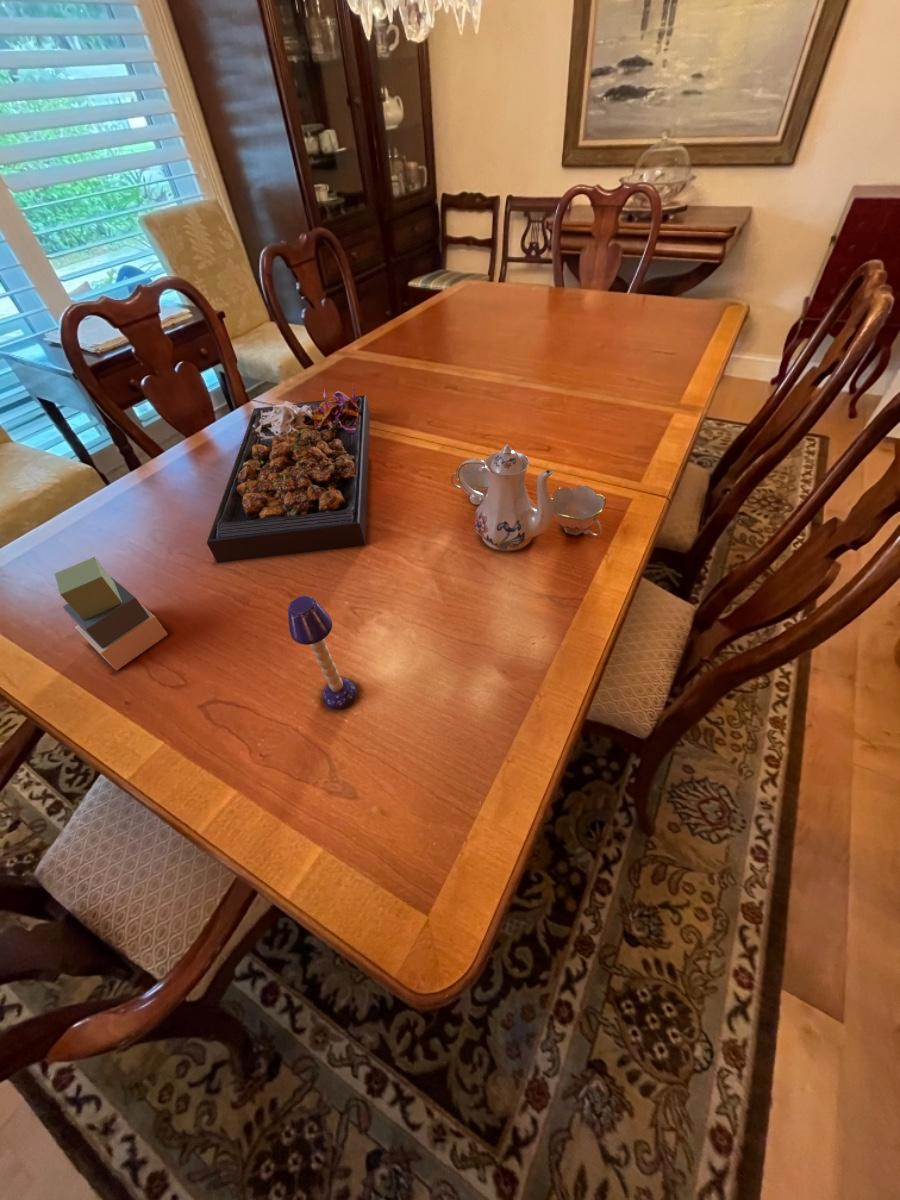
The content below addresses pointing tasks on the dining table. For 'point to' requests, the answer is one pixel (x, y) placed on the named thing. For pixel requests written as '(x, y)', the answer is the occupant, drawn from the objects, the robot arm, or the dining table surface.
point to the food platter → (297, 481)
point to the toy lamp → (319, 647)
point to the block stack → (120, 629)
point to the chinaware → (522, 501)
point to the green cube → (88, 588)
